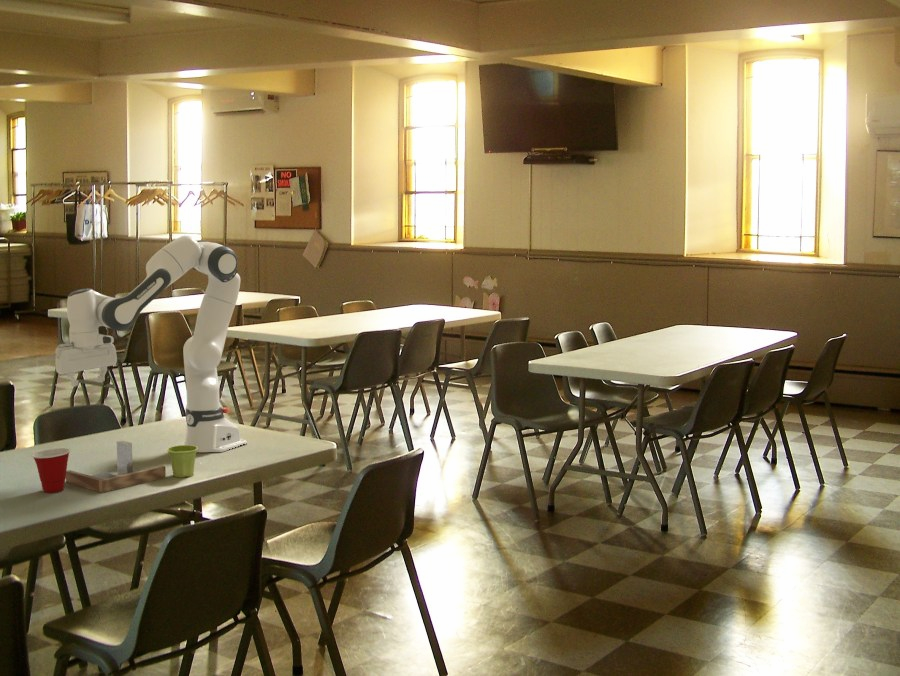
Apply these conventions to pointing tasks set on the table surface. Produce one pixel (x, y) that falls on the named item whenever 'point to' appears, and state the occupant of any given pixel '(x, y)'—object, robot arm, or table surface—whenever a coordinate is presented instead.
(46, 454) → the plastic cup
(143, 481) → the corner walls
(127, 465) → the steel bookend
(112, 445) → the table surface
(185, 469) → the plant pot
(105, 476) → the felt mat
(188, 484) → the table surface
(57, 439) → the table surface
